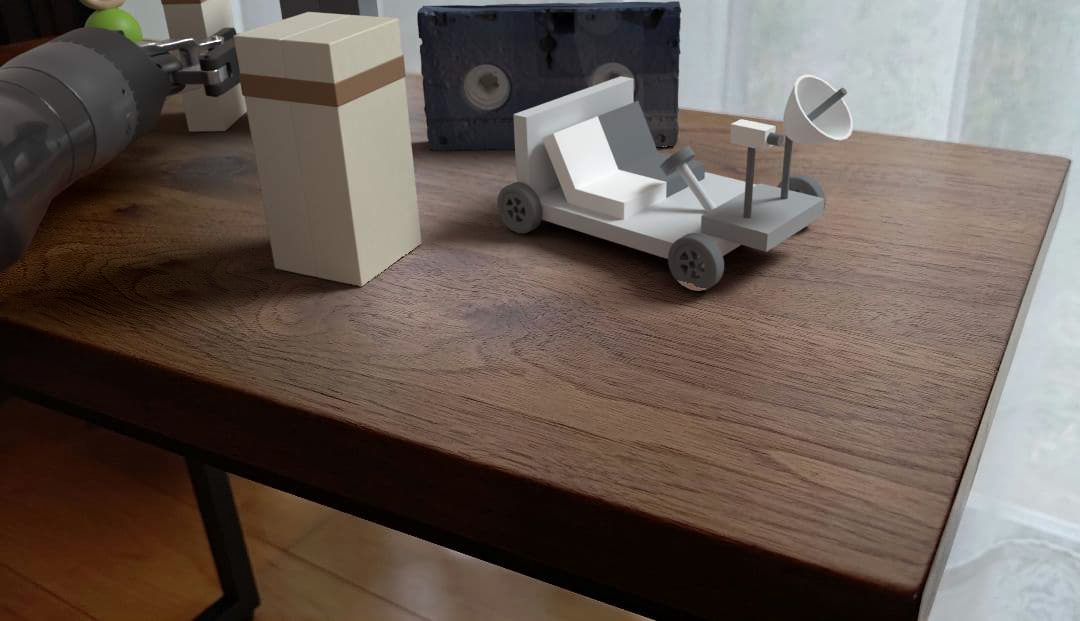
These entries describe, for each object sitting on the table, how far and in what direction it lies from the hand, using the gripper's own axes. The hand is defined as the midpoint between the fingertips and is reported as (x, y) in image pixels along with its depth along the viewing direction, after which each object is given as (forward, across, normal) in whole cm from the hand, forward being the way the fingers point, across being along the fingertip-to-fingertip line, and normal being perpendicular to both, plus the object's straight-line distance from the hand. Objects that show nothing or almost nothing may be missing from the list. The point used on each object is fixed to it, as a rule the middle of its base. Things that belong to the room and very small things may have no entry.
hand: (177, 42), depth 74 cm
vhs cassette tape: (-2, -28, +8) cm, 29 cm away
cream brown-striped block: (-22, -17, +8) cm, 29 cm away
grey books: (+5, -10, +8) cm, 14 cm away
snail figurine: (+25, +18, +8) cm, 32 cm away
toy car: (-19, -36, +8) cm, 41 cm away
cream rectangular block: (+5, 0, +8) cm, 9 cm away
